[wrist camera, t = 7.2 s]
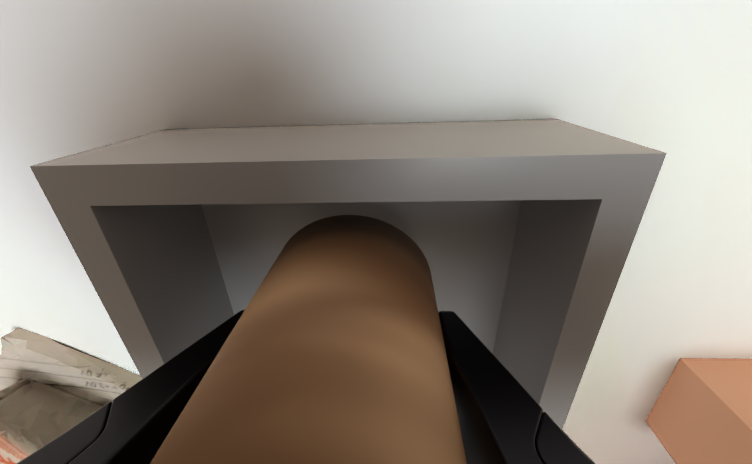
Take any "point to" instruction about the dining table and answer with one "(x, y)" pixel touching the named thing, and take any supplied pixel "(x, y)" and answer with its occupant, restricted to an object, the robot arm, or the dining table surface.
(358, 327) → the walnut cylinder
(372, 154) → the tote
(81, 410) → the packaged product
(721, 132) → the dining table surface
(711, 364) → the terracotta cube
